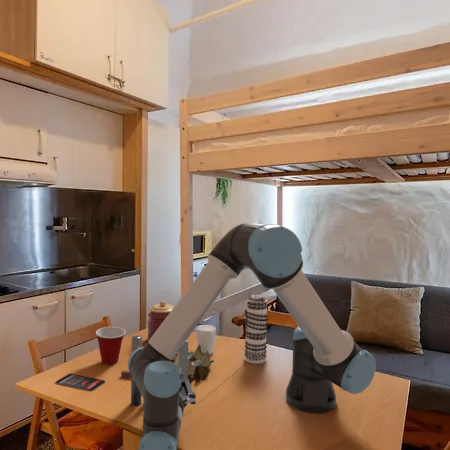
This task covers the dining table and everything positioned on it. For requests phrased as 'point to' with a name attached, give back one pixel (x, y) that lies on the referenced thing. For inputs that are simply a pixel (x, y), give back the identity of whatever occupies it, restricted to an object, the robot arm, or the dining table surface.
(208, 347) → the white cup
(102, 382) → the smartphone
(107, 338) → the plastic cup
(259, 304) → the decorative candle
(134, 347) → the hinge post
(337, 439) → the dining table surface
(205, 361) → the miniature gate
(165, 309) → the canister
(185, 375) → the grey rectangular frame
